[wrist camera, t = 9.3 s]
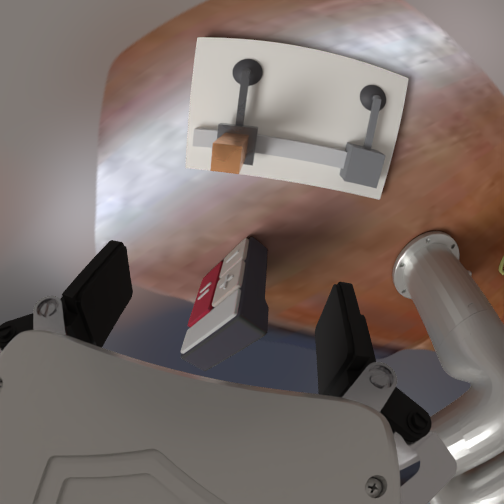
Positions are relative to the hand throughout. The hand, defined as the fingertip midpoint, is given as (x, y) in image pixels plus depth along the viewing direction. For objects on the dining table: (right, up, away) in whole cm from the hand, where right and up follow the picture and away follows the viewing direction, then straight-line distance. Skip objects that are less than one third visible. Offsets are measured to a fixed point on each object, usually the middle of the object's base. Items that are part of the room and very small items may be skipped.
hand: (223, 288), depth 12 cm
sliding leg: (0, +16, +15) cm, 22 cm away
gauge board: (+6, +17, +16) cm, 25 cm away
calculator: (-1, 0, +29) cm, 29 cm away
